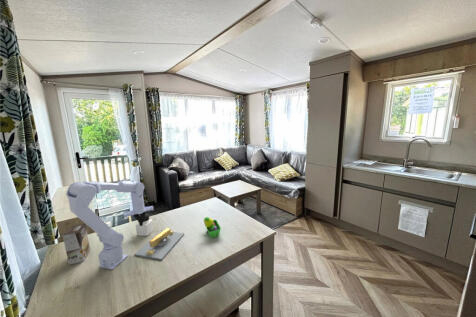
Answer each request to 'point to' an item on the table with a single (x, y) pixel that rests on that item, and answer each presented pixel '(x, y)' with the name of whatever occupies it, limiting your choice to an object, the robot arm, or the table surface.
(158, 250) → the base
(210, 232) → the fruit basket
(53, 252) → the table surface
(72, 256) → the coffee box
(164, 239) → the long golden bar
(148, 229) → the medicine bottle
